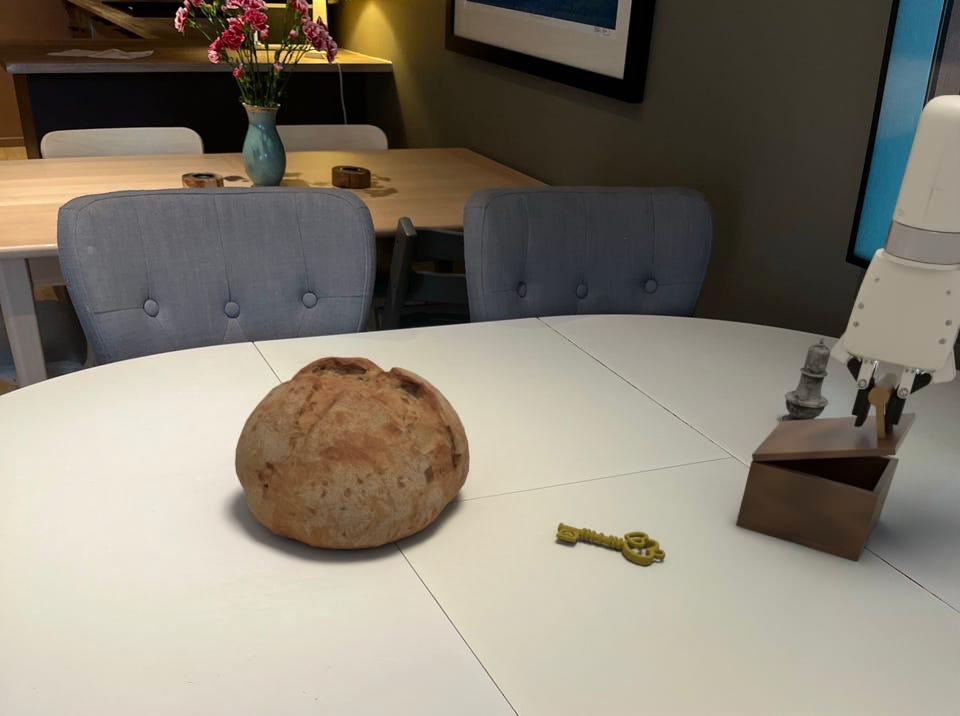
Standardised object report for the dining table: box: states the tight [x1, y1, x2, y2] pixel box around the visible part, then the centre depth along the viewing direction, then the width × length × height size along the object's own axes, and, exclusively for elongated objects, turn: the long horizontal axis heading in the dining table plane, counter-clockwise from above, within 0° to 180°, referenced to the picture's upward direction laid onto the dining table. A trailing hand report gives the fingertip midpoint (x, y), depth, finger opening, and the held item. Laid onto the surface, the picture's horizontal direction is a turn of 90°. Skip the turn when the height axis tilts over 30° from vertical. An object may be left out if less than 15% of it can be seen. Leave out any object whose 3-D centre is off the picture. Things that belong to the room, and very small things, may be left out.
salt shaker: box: [781, 337, 831, 421], centre depth 135 cm, size 6×6×12 cm
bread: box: [234, 356, 471, 550], centre depth 106 cm, size 26×23×15 cm
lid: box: [751, 372, 916, 461], centre depth 106 cm, size 14×12×6 cm
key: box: [555, 522, 666, 566], centre depth 105 cm, size 12×1×5 cm
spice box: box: [735, 455, 900, 562], centre depth 111 cm, size 14×12×8 cm
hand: (873, 424), depth 105 cm, fingers closed on lid, 2 cm apart
